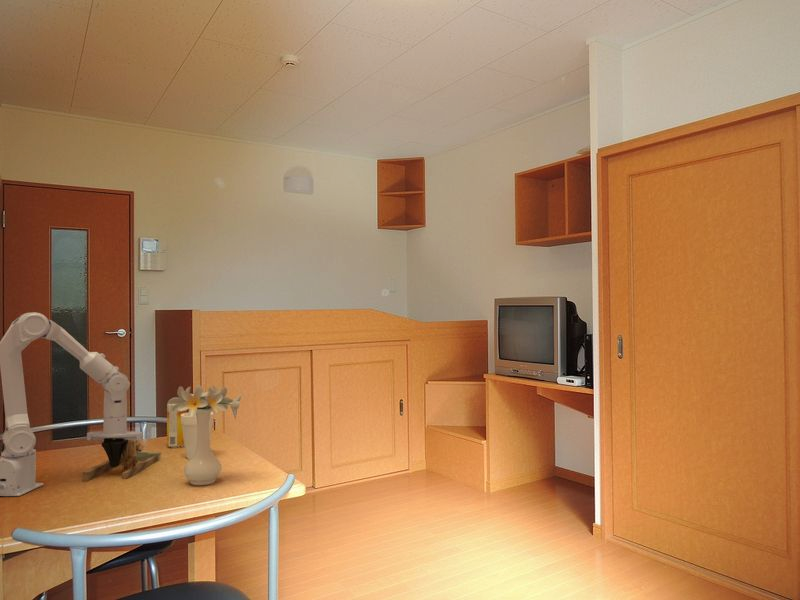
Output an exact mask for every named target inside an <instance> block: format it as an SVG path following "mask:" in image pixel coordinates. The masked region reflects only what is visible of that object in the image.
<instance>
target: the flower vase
mask: <svg viewBox="0 0 800 600" xmlns="http://www.w3.org/2000/svg"><path fill="white" fill-rule="evenodd" d="M191 388H192V387H191V386H188V387H187V388H186V389H185V390H184V387H183V386H181V385H180V386H178V389H177V396H178V397H177V396H175V397H172V398H170V399H169V400H168V401H167V404H176V405H174V406H173V407H172V409H171V411H174V410H175V409H176V408H177V410H178V411H184V410H187V411H188V412H189V415H190V417H194V416H195V415H196V418H197V443H196V449H195V452H194V454H193V456H192V458H191V459H188V461H187V462H186V464H185V465H184V467H183V468H184V469H183V474H184V476H185V477H186V478H187V479H188V480H190V481H189V482H190V484H191V485H193V486H207V485H212V484H213V483H215V482H216V478H217V477H218V476H219V475H220V473H221V472H222V470H223V467H222V466H223V465H222V463H221V461H220V460H219V458H217V457H216V456H215V455H214V453H213V450H212V448H211V447H212V446H211V438H210V439H209V421H210V415H211V412H212V411H213V412H214V414H216V415H218V414H219V411H222V412H227V410H228V409H229V407H228V406H230V409H231V411H232V413H233V416H234V419H235V421H236V420H237V414H238V409H239V408H240V405H241V399H242V396H243V393H244V392H243V391H241V392H240V393H239V395H238V396H237V397H236V398H235V399H234V400H233V398H231V397H229V396H228V397H227V394H228V389H227V387H226V386H223V387H221V388H220V390H219V388H218V387H217V386H216V385H215V384H213V385H212V387H210V386H209V387H208V391H204V388H203V387H202V386H201V385H196V387H195V391H194V393H191Z"/></svg>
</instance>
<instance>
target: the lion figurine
mask: <svg viewBox="0 0 800 600" xmlns="http://www.w3.org/2000/svg"><path fill="white" fill-rule="evenodd" d="M144 447H145V446H144V445H142V444H141V442H139V440H128V443H127V444H126V446H125V448H124V450H123V453H122V456H123V463H122V464H121V466H122V467H123V468H122V470H121V471H123V472H125V471H126V470H128V463H127V462H128V461H127V460H133V461H131V462H132V463H131V468H132V467H134V466H136V465H137V462H138V461H137V460H136V459H137V457H136V456H137V454H138V452H140V453H141V452H142V451H143V449H144Z"/></svg>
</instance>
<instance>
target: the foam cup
mask: <svg viewBox="0 0 800 600" xmlns="http://www.w3.org/2000/svg"><path fill="white" fill-rule="evenodd" d="M213 412H214V411H213ZM213 412H212V411H211V415H210V421H209V439H210V440H211V437H212V432H213V431H212V430H213V422H215V421H214V418H215V417H214V414H215V412H214V413H213ZM181 424H182V430H183V438H184V453H185V457H187V458H192V456H193V454H194V452H195V449H196V443H197V418H196V415H195V416H194V417H190V415H189V411H187V413H183V414H181ZM187 458H186V459H187Z"/></svg>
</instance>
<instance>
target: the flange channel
mask: <svg viewBox="0 0 800 600" xmlns="http://www.w3.org/2000/svg"><path fill="white" fill-rule="evenodd" d="M136 457H137V459H136V460H137V462H140V461H141V462H140V463H136V466H134V467H132V466H131V467H129V468H127V470H126V471H123V472H122V473H121V480H127V479H129V478H130V477H132V476H134V475H136V474H137V473H139V472H141V471H144V470H145V469H147V468H148V467H150V466H152V465H154V464H155V463H157V462H159V461H161V460H162V458H161V457H162V451H161V452H159V451H158V452H157V451H149V450H142V452H141V453H140V452H138V454H137V456H136ZM130 461H131V462H133V460H127V462H130ZM122 463H123V456H121V459H120V463H119V466H121V465H122ZM112 469H115V467H111V466H110V462H109V459H108V460H106V461H103V462H101V463H99V464H97V465H95V466H93V467H91V468H89V469H87V470H85V471H83V472H81V474H82V476H81V480H82V482H89V481H91V480H92V479H95V478H97V477H99V476H101V475H102V474H104V473H106V472H108V471H110V470H112ZM88 480H89V481H88Z"/></svg>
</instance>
